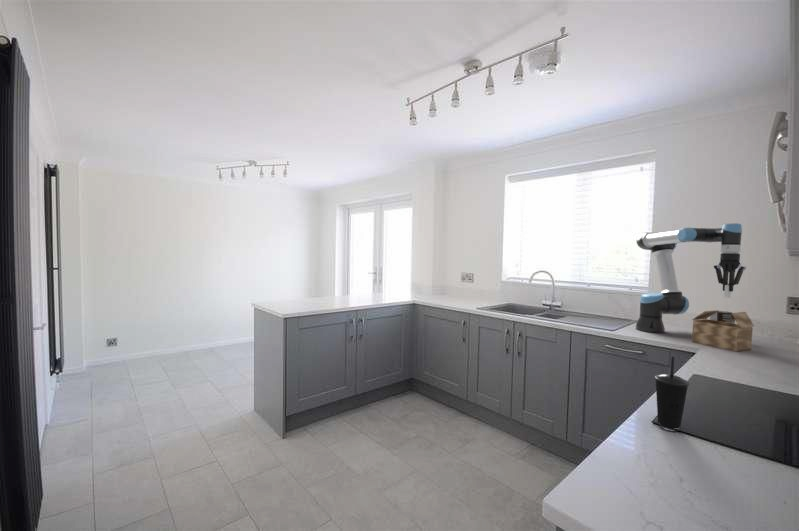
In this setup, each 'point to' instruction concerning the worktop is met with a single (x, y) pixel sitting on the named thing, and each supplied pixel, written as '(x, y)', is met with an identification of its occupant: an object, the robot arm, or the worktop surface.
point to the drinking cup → (670, 398)
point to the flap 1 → (705, 315)
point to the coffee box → (723, 317)
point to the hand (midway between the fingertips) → (727, 297)
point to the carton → (722, 335)
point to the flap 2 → (742, 319)
